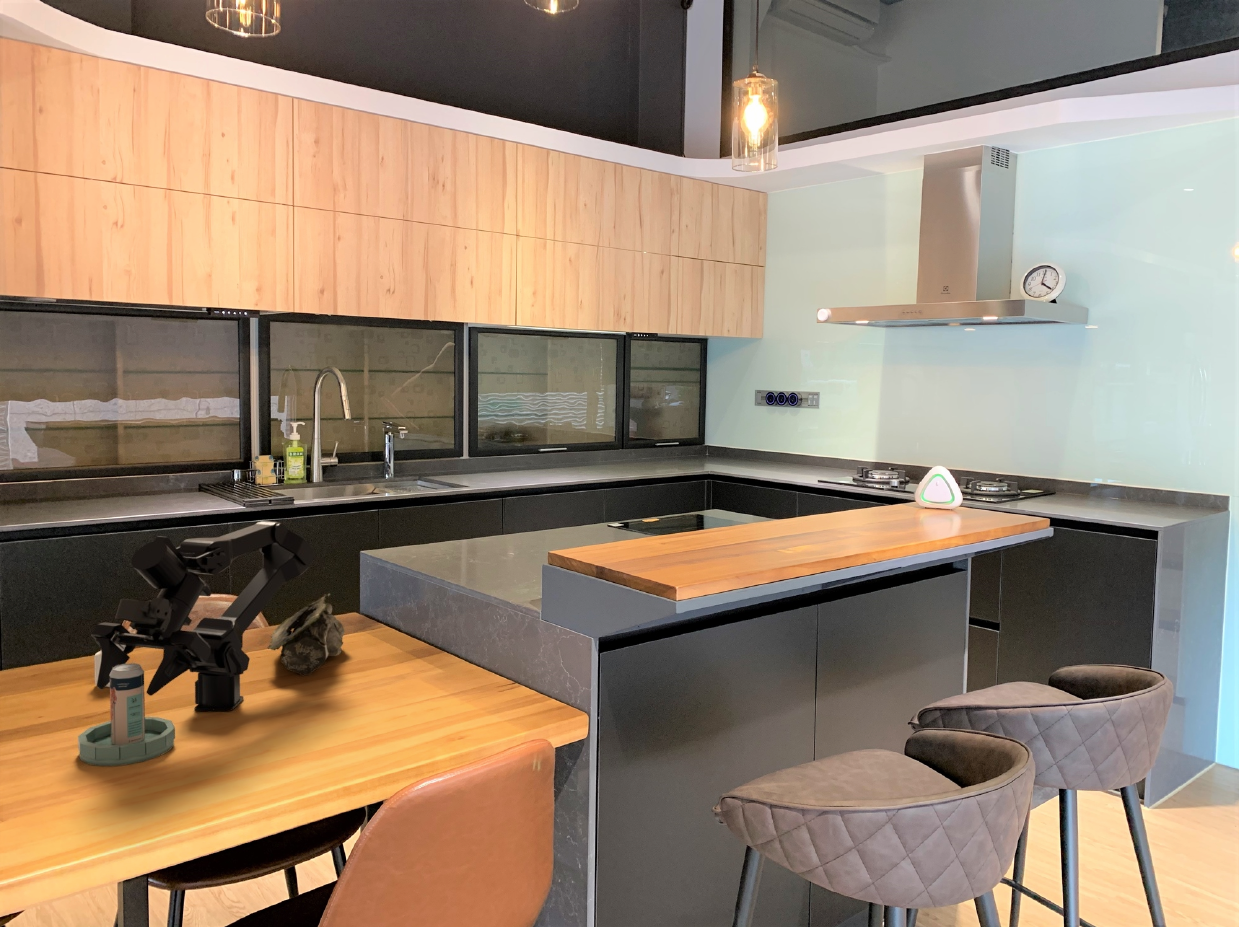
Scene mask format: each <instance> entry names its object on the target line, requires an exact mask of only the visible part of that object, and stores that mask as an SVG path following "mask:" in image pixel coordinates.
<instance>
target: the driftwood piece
mask: <svg viewBox="0 0 1239 927" xmlns="http://www.w3.org/2000/svg"><path fill="white" fill-rule="evenodd" d="M330 595H331V593H329V592H328V593H325V594H322V595H321V596H320V597H318V598H316V599H313V600H312V601H310V602H309V603H308V604H307V605H304V606H303V607H302V608H301V609H300V610H298V611H297V612H295V613H294V614H292V616H290V617H287V618H286V619H284V621H282V622H280V624H279V625H278V626H277V627H276V628H275V629H274V631H273V632H272V635H270V638H271V639H270V642H269V643H270V644H269V645H267V647H266V649H268V650H269V649H270V650H271V651H276V650H280V649H281V651H280V662H281V663H282V666H283V667H284V668H285V669H287V670H288V671H290V672H294V673H295V674H296V673H297V674H300V676H308V675H311V674H312V673H313V672H314V671H316V670H317V669H319V668H320V667H322V666H324V665H325V662H326V661H327V658H328V657H329V656H331V657H336V656H338V655H340V654H341V653H342V646H343V645H344V641H343V637H344V635H345V631H346V630H345V628H344V625H343V623H342V622H341V621H340V620H339V619H338V618H337V617H336V616H334V615H333V614H332V612H333V606H332V604H331V603H330V602H329V601H326V598H327V597H330Z"/></svg>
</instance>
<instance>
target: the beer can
mask: <svg viewBox="0 0 1239 927" xmlns="http://www.w3.org/2000/svg"><path fill="white" fill-rule="evenodd" d="M109 676H110V687H109V698H110V699H109V701H110V702H109V704H110V705H109V706H110V709H109V710H110V721H111V743H112V744H114V745H125V744H130V743H136V742H141V741H143V740H144V739H145V717H146V714H145V713H146V712H145V711H146V710H145V707H146V706H145V704H146V703H145V670H144V669H143V668H142V665H141V664H140V663H135V662H134V663H133V662H131V663H129V662H128V663H126V664H122V665H117V666H115V667H113V669H112V671H111V673H110V675H109Z"/></svg>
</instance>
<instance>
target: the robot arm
mask: <svg viewBox="0 0 1239 927" xmlns="http://www.w3.org/2000/svg"><path fill="white" fill-rule="evenodd" d="M257 550H258V551H259V553H260V554H261V555H262V568H261V569H259V571H258V572H257V574H256V575H255V576H254V577H253V578H252V579H251V580H250V582H249V583H248V584H247V585H246V586H245V587H244V589H243V590H242V591H241V592H240V593H239V595H238V596H237V597H236V598H235V599H234V600H233V602H231V604H230V605H229V606H228V607H227V609H226V610H225V611H224V612H223V613H222V614H221V616H219V617H217V618H214V617H203V618H202V619H201V620H200V621H199V622H198V624H197V625H196V627H195V628H193V629H192V630H182V628H183V626H190V625H191V624H192V621H193V620H192V619H191V617H189V616H190V614H191V612H192V610H193V609H194V607H195V605H196V604H197V601H198V600H199V598H200V597H211V595H212V591H211V588H210V585H209V580H207V579H202V578H201V577H200V576H199V575H198V574H201V575H202V574H203V575H212V576H215V575H219V574H220V573H222V572H223V571H225V570H226V569H228V568H229V567H231V565H232V563H233V561H234V560H235V559H237V558H239V557H241V556H245V555H247V554H249V553H252V552H254V551H255V552H256V551H257ZM314 558H315V552H314V550H313V548H312V546H311V544H310V543H309V542H308V541H306V540H305V538H303V537H301V536H300V535H298V534H296V533H294V532H293V531H291V530H290V529H288V527H287V526H286V525H285V524H283V523H281V522H279V521H269V520H267V521H266V520H260V521H258V522H256V523H255V524H253V525H249V526H247V527H244V528H241V529H238V530H236V531H232V532H230V533H227V534H223V535H221V536H216V537H194V538H188V539H187V538H186V539H185V540H182V542H181V543H180V544H179V546H178V547H176V546H175V545H174V544H173V542H172V540H171V539H170V538H169V537H168V536H159V535H158V536H156V537H155V538H154V540H153V541H150V542H148V543H146V544H144V545H142V546H141V547H140V548H139V549H138V550H136V551H135V552H134V553H133V555H132V556H131V560H130V561H131V565H132V567H133V568H134V570H136V572H137V573H138V574H139V575H141V577H143V579H144V580H145V581H147V582H148V584H149V585H151V587H152V588H154V589H156V590H160V591H159V593H158V595H157V596H156V597H153V598H152V599H148V600H146V601H145V600H138V599H128V598H121V599H120V600H119V604H118V607H117V611H116V614H115V617H114V619H115V620H117V621H120V620H123V621H125V622H130V623H129V627H130V628H131V629H132V630H136V633H131V632H130V631H129V630H128V629H127V628H126V627H125V626H123V624H122V623H114V622H113V623H112V622H101V623H98V624H96V626H95V627H94V630H93V631H92V633H91V635H90V637H91V638H92V639H93V640H94V641H95V643H96V644H97V645H98V646H99V647H100V651H102V657H101V665H100V670H99V675H98V681H97V685H96V687H97V688H98V689H99V690H103V689H104V688H106V687H105V686H106V685H107V684H108V683H109V682H110V676H109V675H110V673H111V671H112V669H113V667H115V666H117V665H122V664H125V663H126V664H127V662H129V660H130V659H131V656H129V654H131V653H133V652H134V650H135V648H136V647H138V648H147V649H155V650H157V649H158V650H163V653H162V654H163V655H162V660H161V662H160V664H159V665H158V667H157V669H156V671H155V673H154V675H153V676H152V679H151V681H150V682H149V684H148V687H147V690H146V694H147V695H148V696H153V695H155V694H156V693H157V692H159V691H160V690H161V689H163V688H164V687H165V686H167V685H168V684H170V683H171V682H172V681H174V680H175V679H176V678H178V677H179V676H181V675H182V674H184V673H186V672H187V671H189V672H190V673H197V680H195V681H194V703H195V706H194V710H193V711H196V712H198V711H199V712H200V711H201V712H204V711H205V712H206V711H207V712H208V711H209V712H210V711H212V712H213V711H221V712H222V711H225V712H227V711H233V710H234V709H235V708H236V707H237V706H238V705H239V704H240V703H241V702H242V701H243V700H244V695H241V675H243V674H244V672H246V671H248V668H249V664H250V656H248V655H247V653H245V651H244V650H243V646H244V644H243V637H244V633H245V631H246V630H247V629H248V628H249V627H250V626H251V624H252V623H253V622H254V621H255V619H257V617H258V616H259V614H260V613H261V612H262V611H263V609H264V608H265V607H266V606H267V605H268V603H269V602H270V601H271V600H272V598H273V597H274V596H275V595H276V594H277V592H278V591H279V590H280V589H281V587H282V586H283V585H284V584H285V583H287V582H289V581H291V580H294V579H295V578H298V577H300V576H301V575H302V574H304V572H306V571H307V570H308V569H309V568H310V567H311V565H312V563H313V561H314Z"/></svg>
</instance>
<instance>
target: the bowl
mask: <svg viewBox="0 0 1239 927" xmlns="http://www.w3.org/2000/svg"><path fill="white" fill-rule="evenodd" d="M175 739H176V727H175V724H174V722H173V721H172V720H170V719H165V718H162V717H159V716H145V739H144V740H143V741H141V742H136V743H130V744H125V745H114V744H112V743H111V720H108V721H106V722H102V723H99V724H96V725H94V726H90V727H88V728H87V729H86V730H84V731H83V732H82V733H80V734H79V735H78V736H77V741H78V743H77V744H78V745H77V746H78V751H79V752H78V754H79V760H80V761H81V762H83V763H85V764H88V765H91V766H98V767H117V766H127V765H133V764H138V763H141V762H147V761H149V760H152V759H155V758H157V757H160V756H162V755H164V754H166V753H167V752H169V751H171V750H172V749H173V747H174V745H175Z"/></svg>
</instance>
